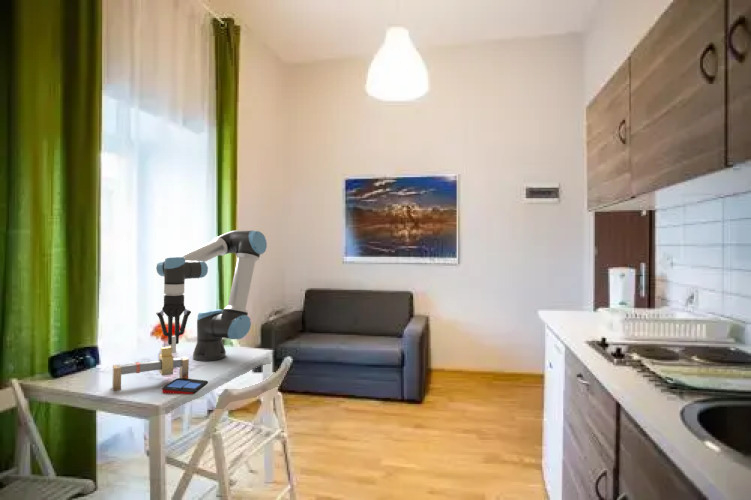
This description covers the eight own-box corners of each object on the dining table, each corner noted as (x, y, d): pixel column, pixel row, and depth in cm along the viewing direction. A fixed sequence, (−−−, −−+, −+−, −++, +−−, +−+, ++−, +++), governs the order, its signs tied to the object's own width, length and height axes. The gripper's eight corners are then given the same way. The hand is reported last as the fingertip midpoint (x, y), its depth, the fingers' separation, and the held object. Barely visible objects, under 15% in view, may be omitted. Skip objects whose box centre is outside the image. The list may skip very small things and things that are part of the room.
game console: (193, 395, 163) (193, 389, 163) (159, 394, 163) (159, 388, 163) (208, 383, 177) (208, 377, 177) (177, 382, 177) (177, 377, 177)
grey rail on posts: (185, 376, 184) (185, 356, 184) (188, 379, 180) (188, 358, 180) (112, 387, 169) (112, 364, 169) (113, 391, 165) (113, 367, 164)
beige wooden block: (169, 369, 181) (170, 345, 181) (173, 374, 175) (173, 348, 175) (159, 371, 179) (159, 346, 179) (162, 375, 173) (162, 349, 173)
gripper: (189, 292, 185) (187, 348, 185) (154, 294, 178) (153, 352, 178) (193, 294, 179) (192, 352, 179) (158, 296, 172) (157, 356, 172)
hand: (173, 352), depth 178 cm, fingers closed
